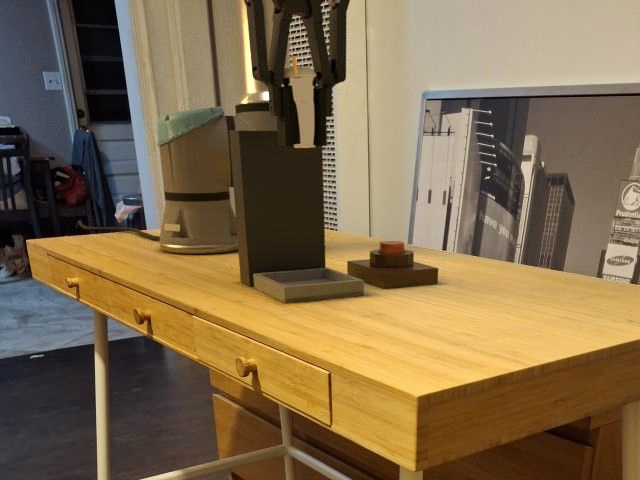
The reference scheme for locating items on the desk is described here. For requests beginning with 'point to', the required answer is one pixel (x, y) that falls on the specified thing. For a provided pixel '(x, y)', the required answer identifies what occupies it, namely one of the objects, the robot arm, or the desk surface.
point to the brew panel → (392, 270)
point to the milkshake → (301, 104)
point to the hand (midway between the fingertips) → (302, 145)
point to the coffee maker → (283, 220)
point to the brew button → (392, 247)
